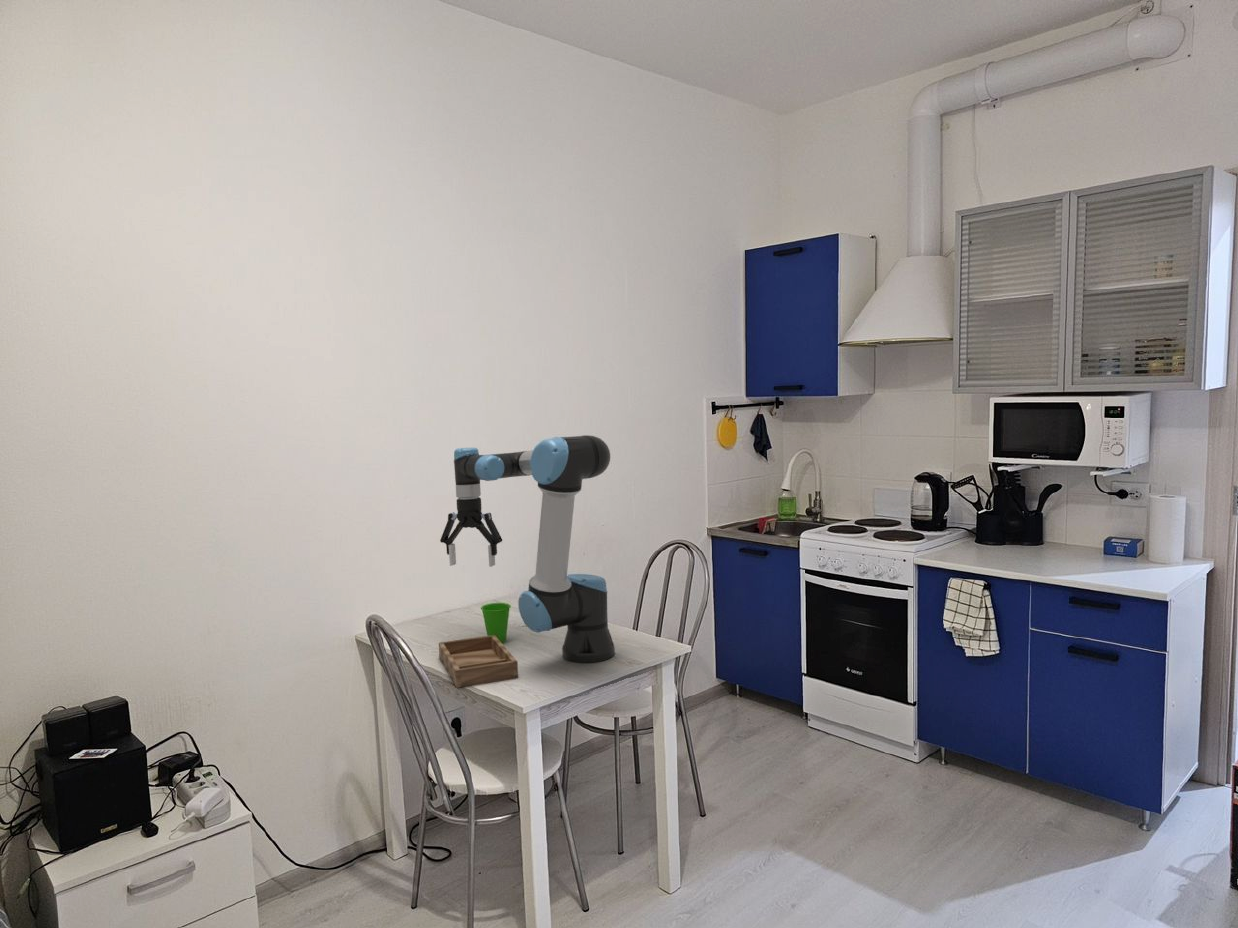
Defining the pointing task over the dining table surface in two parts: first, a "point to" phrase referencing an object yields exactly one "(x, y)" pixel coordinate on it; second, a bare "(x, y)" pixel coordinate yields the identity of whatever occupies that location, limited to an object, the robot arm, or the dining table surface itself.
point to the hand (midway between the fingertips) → (472, 565)
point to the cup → (496, 619)
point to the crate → (477, 661)
